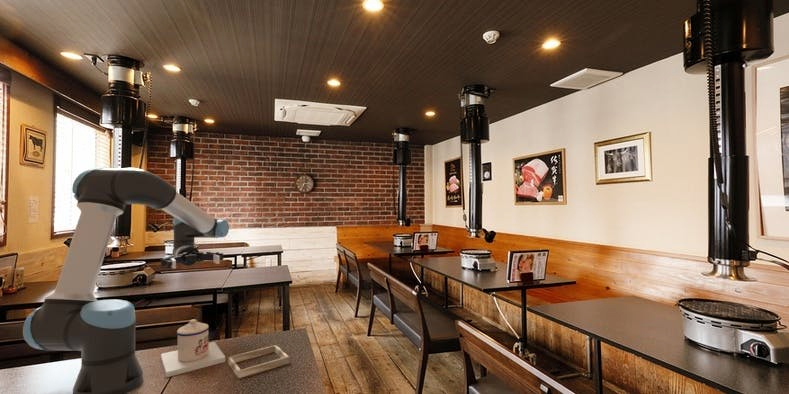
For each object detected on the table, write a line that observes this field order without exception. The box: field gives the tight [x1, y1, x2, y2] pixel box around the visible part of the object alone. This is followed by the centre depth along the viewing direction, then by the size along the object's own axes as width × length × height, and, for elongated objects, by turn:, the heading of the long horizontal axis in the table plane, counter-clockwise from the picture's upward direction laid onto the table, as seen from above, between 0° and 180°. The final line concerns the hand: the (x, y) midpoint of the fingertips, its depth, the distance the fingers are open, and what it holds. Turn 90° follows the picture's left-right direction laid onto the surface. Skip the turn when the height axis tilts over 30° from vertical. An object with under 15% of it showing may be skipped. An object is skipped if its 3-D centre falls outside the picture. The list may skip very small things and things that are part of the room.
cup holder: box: [227, 344, 290, 379], centre depth 113 cm, size 12×15×2 cm
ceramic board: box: [160, 341, 226, 378], centre depth 115 cm, size 16×16×2 cm
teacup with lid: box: [176, 318, 210, 362], centre depth 116 cm, size 12×9×12 cm
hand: (197, 262), depth 125 cm, fingers open, 13 cm apart
